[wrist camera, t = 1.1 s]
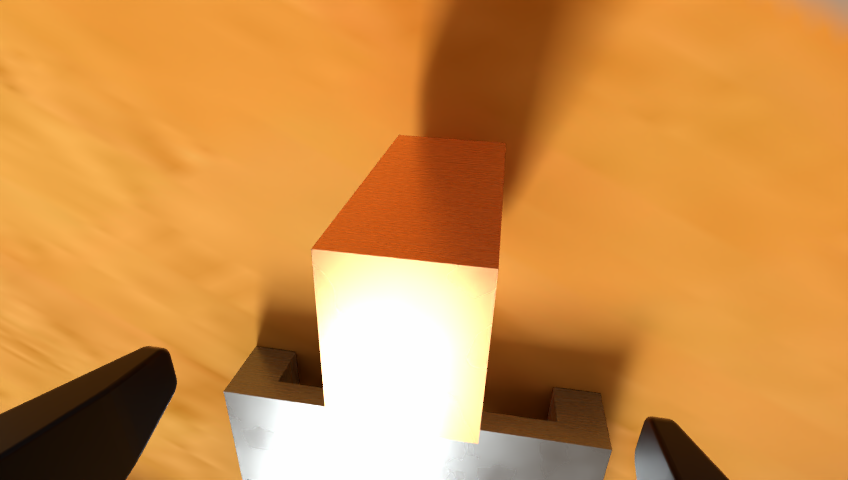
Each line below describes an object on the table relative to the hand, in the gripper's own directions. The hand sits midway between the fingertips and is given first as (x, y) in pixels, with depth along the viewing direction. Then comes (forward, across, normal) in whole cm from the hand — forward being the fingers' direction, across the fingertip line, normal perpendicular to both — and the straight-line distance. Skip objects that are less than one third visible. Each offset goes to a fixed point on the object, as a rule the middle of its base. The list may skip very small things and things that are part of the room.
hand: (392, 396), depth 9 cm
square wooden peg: (+11, 0, 0) cm, 11 cm away
